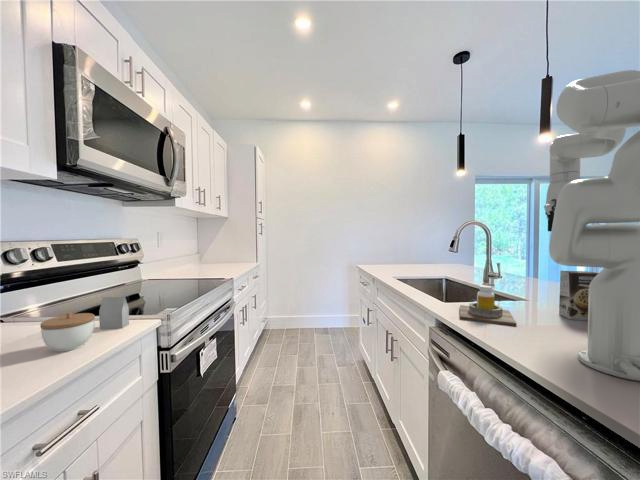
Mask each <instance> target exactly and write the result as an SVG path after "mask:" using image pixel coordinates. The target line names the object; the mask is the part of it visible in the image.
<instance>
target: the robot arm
mask: <svg viewBox="0 0 640 480" xmlns="http://www.w3.org/2000/svg"><path fill="white" fill-rule="evenodd" d="M555 111H556V116H557V118H558V119H559V120H560V121H561V122H562V123H563V124H564V125H565V126H567V127H568V128H569V129H570V130H572V131H573V132H576V133H571V134H569V133H568V134H564V135H560V136H557V137H556V138H554V139H553V141H552V142H551V143H550V145H549V183H548V186H547V192H546V200H545V205H544V206H543V208H544V210H545V213H544V214H545V216H546V219H547V232H550V236H549V244H548V245H549V246H548V253H549V256H550V258H551V260H552V261H553V262H554V263H556V264H557V265H561V266H565V267H566V266H568V267H583V268H585V267H587V268H602V269H601V270H600V271H599V272H597V273H598V274H597V275H596V276H595V277H594V278H593V280H592V281H591V283H590V285H589V300H588V320H587V349H584V350H580V351H579V352H578V353H577V355H578V356H577V358H578V360H579V361H580V362H581V363H582V364H583V365H586V366H588V367H589V368H592V369H594V370H596V371H598V372H602V373H604V374H607V375H610V376H612V377H613V376H614V377H617V378H622V379H625V380H629V381H638V382H640V224H629V223H640V130H638V131H637V132H636V133H634V134H633V135H632V136H631V137H630V138H628V139H627V140H626V141H625V142H623V140H624V138H625V135H626V131H627V128H631V127H639V126H640V70H636V69H634V70H633V69H628V70H621V71H614V72H610V73H606V74H600V75H595V76H590V77H585V78H581V79H576V80H574V81H572V82H570V83H569V84H567V85H566V86H565V87H564V89H562V91H561V93H560V94H559V96H558V99H557V102H556V109H555ZM622 142H623V144H621V143H622ZM620 144H621V146H619V145H620ZM617 147H618V149H617V150H616V148H617ZM614 150H616V151H615V154H614V156H613V159H612V162H611V163H612V164H611V168H610V171H609V173H608V174H607V175H606V176H604V177H593V178H581V159H587V158H589V159H590V158H599V157H603V156H605V155H609V154H610V153H612V152H613V151H614ZM623 223H624V224H623ZM625 223H626V224H625ZM627 223H628V224H627Z"/></svg>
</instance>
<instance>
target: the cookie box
mask: <svg viewBox="0 0 640 480" xmlns="http://www.w3.org/2000/svg"><path fill="white" fill-rule="evenodd" d="M598 273H599V272H594V271H584V270H583V271H580V270H578V271H577V270H560V274H559V277H560V278H559V300H558V301H559V303H558V304H559V305H558V308H559V309H558V314H559V315H561V316H563V317H564V318H567V319H569V320H574V321H575V320H576V321H577V320H578V321H579V320H580V321H588V300H589V285H590V283H591V281H592V280H593V278H594V277H595V276H596V275H597V274H598Z"/></svg>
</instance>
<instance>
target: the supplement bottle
mask: <svg viewBox="0 0 640 480" xmlns="http://www.w3.org/2000/svg"><path fill="white" fill-rule="evenodd" d="M478 289H479V291H478V292H477V293H476V303H477V308H482V309H495V305H496V304H495V293H494V292H492V291H493V286H491V285H481V284H480V285H479V288H478Z"/></svg>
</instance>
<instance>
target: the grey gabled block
mask: <svg viewBox="0 0 640 480" xmlns="http://www.w3.org/2000/svg"><path fill="white" fill-rule="evenodd" d="M101 298H102V300H101V302H100V303H101V304H100V308H99V310H98V313H99V315H98V317H99V318H98V319H99V330H118V329H119V330H120V329H124V328H125V327H128V326H129V325H130V317H129V316H130V315H129V314H130V311H129V304H128V301H127V298H126V296H102V297H101Z"/></svg>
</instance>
